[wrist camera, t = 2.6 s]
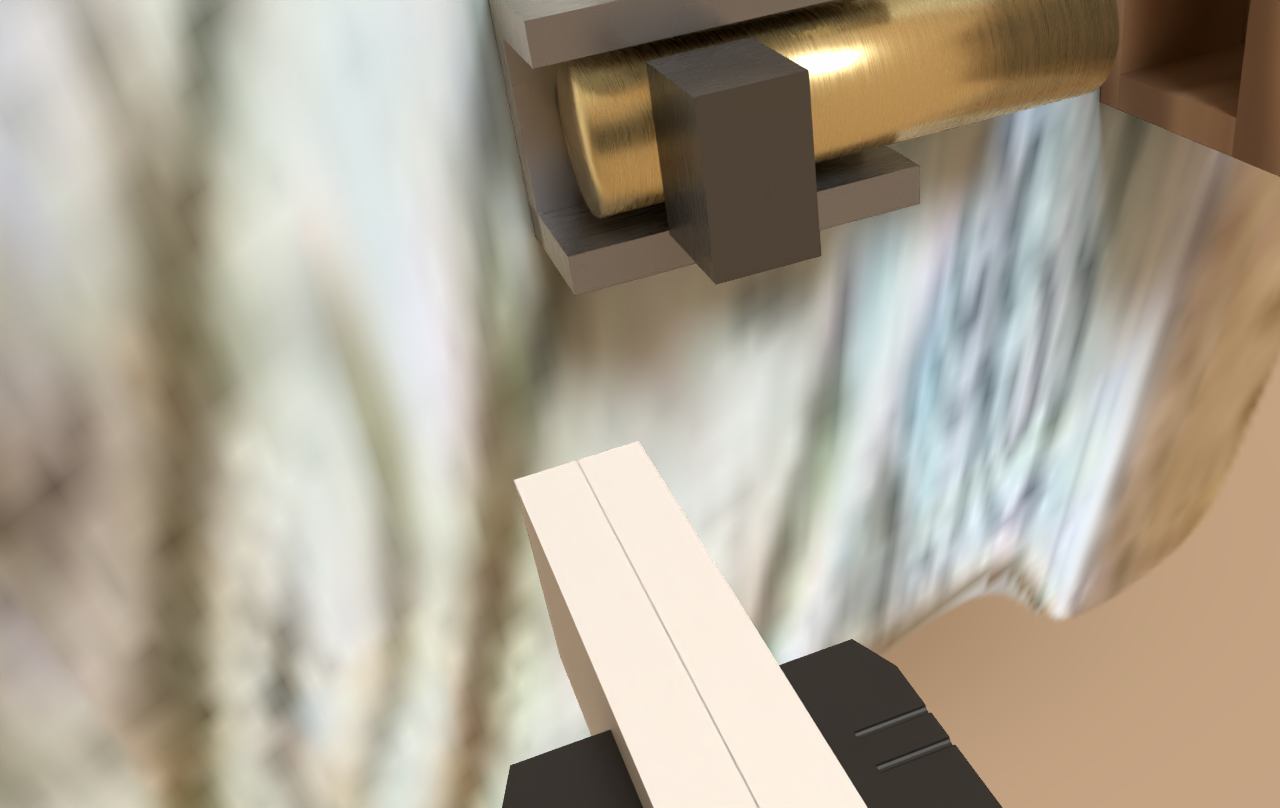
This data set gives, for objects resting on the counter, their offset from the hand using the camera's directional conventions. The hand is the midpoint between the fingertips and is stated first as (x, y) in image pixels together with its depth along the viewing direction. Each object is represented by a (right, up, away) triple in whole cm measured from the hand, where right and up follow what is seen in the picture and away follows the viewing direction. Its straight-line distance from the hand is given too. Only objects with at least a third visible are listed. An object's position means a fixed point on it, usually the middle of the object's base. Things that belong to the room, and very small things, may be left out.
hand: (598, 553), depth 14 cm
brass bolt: (+5, +10, +16) cm, 20 cm away
